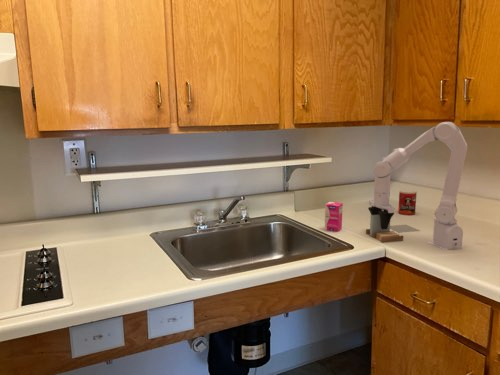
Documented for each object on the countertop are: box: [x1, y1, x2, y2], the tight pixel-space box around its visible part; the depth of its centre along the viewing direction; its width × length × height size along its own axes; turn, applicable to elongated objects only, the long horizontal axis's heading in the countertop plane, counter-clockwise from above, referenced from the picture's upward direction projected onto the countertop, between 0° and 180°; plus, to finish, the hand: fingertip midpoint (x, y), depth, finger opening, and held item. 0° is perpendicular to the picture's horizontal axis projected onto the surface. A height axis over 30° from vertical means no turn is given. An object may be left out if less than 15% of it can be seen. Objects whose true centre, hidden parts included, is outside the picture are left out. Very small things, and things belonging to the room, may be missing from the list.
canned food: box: [397, 189, 418, 216], centre depth 194 cm, size 8×8×11 cm
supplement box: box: [324, 201, 344, 233], centre depth 165 cm, size 6×6×12 cm
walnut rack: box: [365, 228, 404, 244], centre depth 154 cm, size 12×9×2 cm
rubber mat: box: [390, 224, 421, 234], centre depth 166 cm, size 10×10×1 cm
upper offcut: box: [377, 231, 400, 238], centre depth 152 cm, size 4×7×1 cm, turn 103°
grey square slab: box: [369, 214, 391, 237], centre depth 157 cm, size 2×8×8 cm, turn 103°
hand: (380, 227), depth 157 cm, fingers open, 5 cm apart
